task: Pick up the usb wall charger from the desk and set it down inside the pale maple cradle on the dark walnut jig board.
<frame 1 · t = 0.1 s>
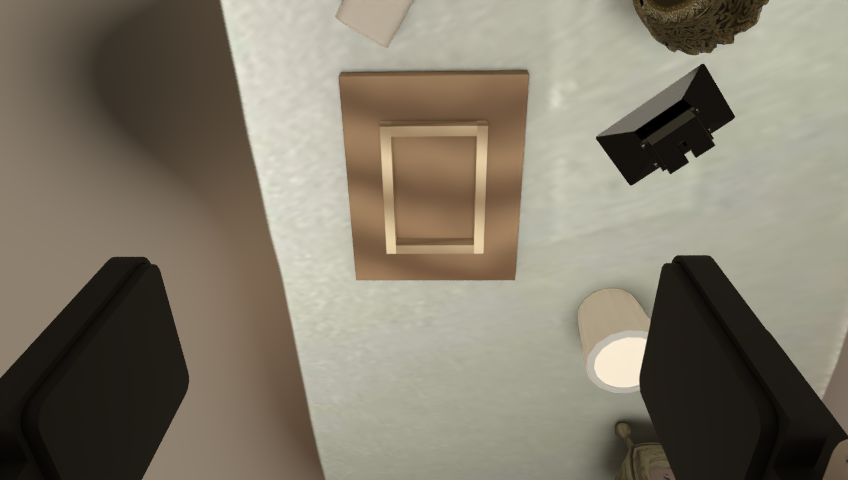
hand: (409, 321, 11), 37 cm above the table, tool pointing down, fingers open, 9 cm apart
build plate: (662, 124, 48), on the table
beige short cylinder: (607, 311, 56), on the table
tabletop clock: (660, 447, 65), on the table
jig board: (434, 181, 50), on the table
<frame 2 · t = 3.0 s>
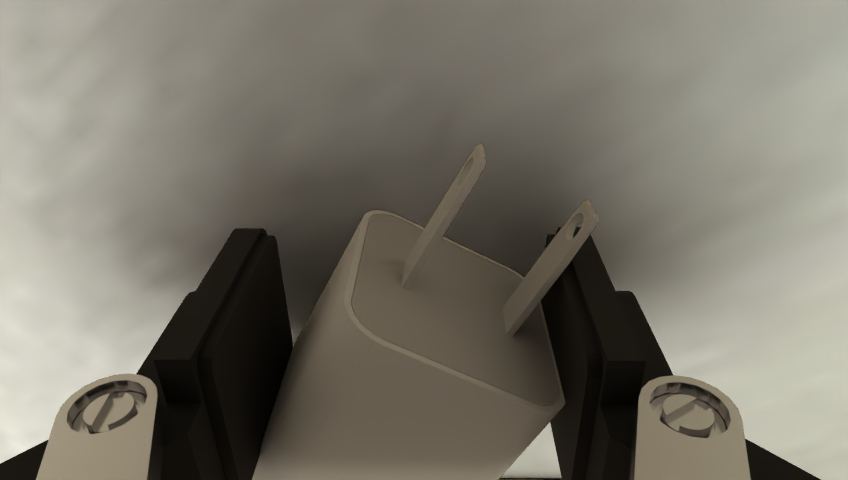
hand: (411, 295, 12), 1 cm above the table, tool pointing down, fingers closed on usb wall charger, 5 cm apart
usb wall charger: (435, 268, 13), on the table, touching gripper
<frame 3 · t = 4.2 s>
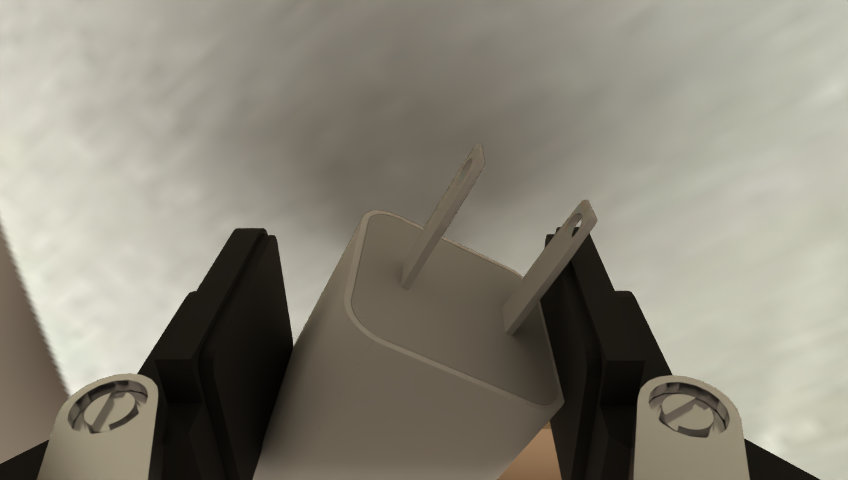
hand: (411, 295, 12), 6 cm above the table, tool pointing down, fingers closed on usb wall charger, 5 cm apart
usb wall charger: (435, 268, 13), point 5 cm above the table, touching gripper
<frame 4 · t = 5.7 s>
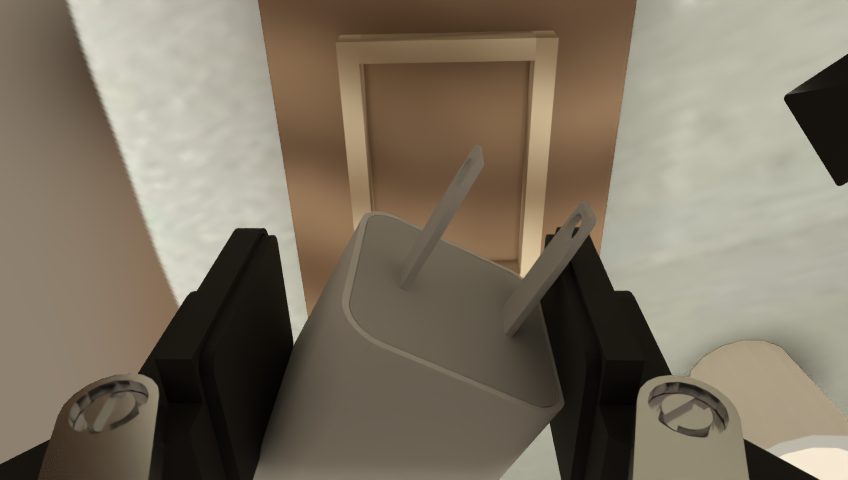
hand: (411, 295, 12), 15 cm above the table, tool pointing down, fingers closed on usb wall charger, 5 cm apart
beige short cylinder: (737, 376, 33), on the table
usb wall charger: (434, 269, 13), point 14 cm above the table, touching gripper
jig board: (446, 155, 27), on the table
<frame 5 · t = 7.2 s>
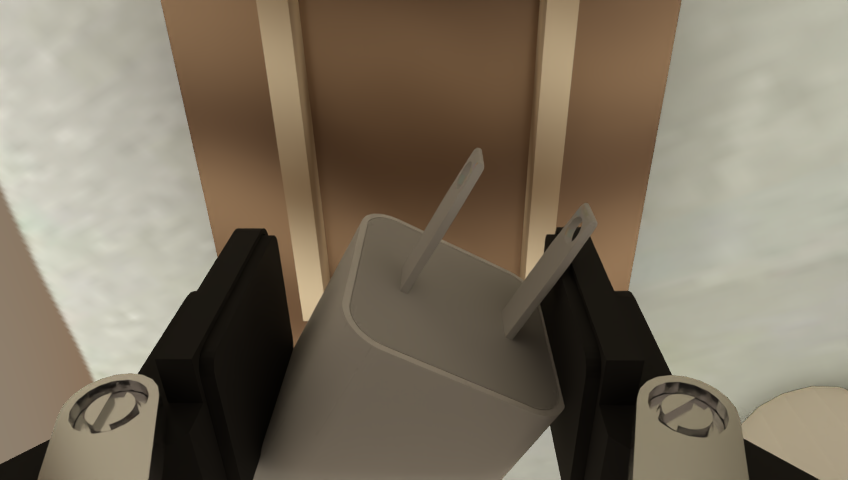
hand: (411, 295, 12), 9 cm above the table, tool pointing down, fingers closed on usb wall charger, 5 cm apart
beige short cylinder: (801, 431, 26), on the table
usb wall charger: (434, 271, 13), point 8 cm above the table, touching gripper
jig board: (422, 137, 19), on the table
when the fingers open (3 cm above the table, at t = 8.5 s): usb wall charger drops 1 cm, resting on jig board.
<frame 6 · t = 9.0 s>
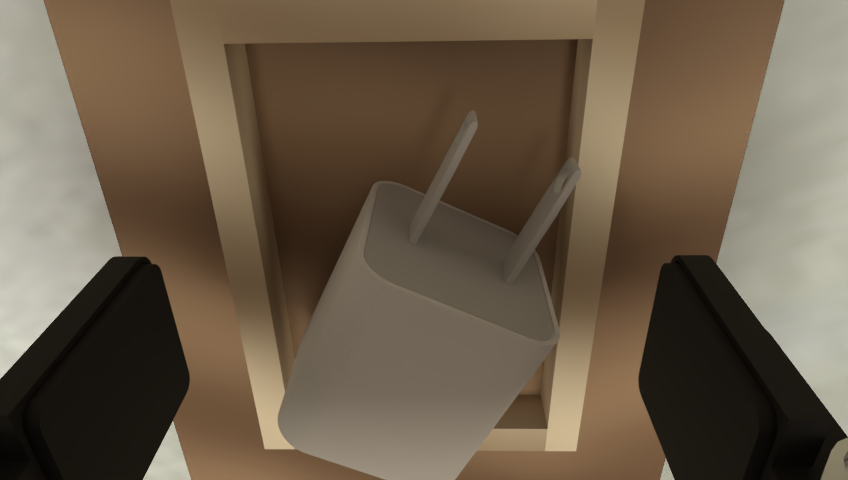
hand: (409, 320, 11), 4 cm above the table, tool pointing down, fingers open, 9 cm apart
usb wall charger: (440, 234, 14), point 1 cm above the table, touching jig board
jig board: (417, 218, 15), on the table
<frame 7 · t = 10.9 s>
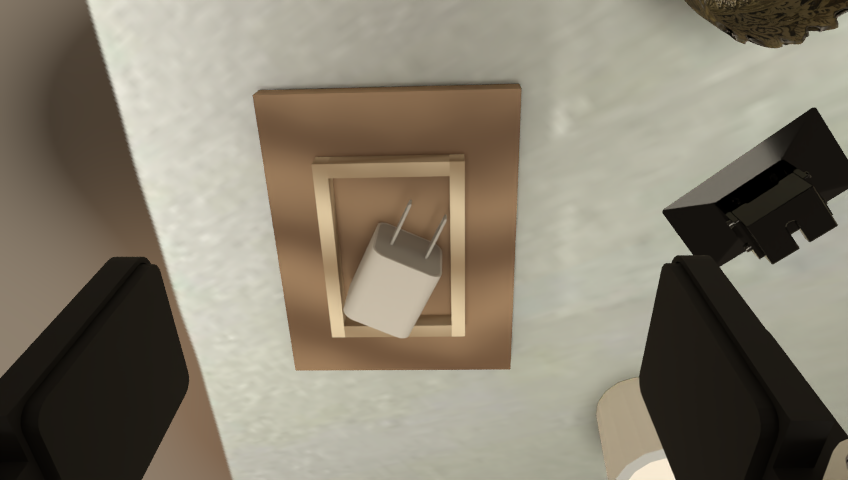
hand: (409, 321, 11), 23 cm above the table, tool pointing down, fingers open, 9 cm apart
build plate: (750, 192, 35), on the table
beige short cylinder: (636, 407, 42), on the table
usb wall charger: (405, 243, 35), point 1 cm above the table, touching jig board
jig board: (396, 237, 36), on the table
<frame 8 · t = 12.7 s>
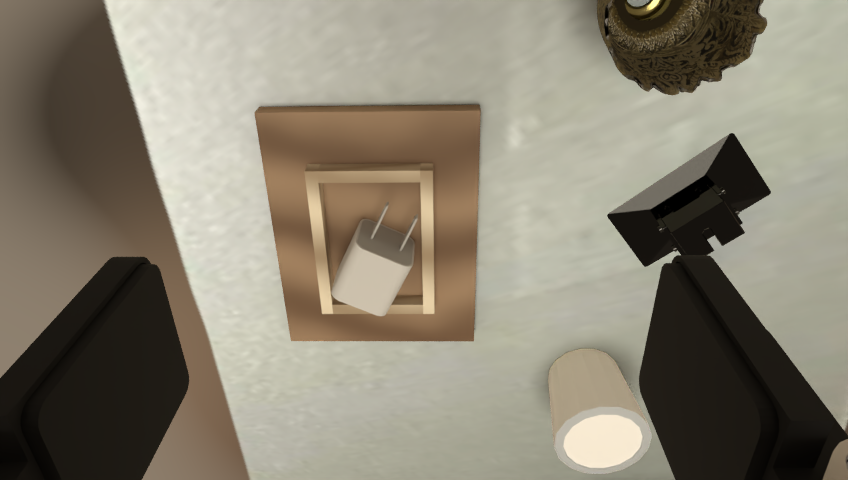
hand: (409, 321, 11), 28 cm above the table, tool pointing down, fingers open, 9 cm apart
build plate: (681, 200, 42), on the table
beige short cylinder: (582, 373, 49), on the table
usb wall charger: (383, 235, 42), point 1 cm above the table, touching jig board
jig board: (376, 230, 43), on the table
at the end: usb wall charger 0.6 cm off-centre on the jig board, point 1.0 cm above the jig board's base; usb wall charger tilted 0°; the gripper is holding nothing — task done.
